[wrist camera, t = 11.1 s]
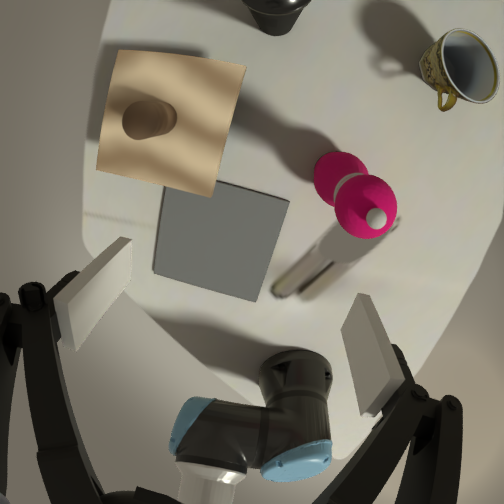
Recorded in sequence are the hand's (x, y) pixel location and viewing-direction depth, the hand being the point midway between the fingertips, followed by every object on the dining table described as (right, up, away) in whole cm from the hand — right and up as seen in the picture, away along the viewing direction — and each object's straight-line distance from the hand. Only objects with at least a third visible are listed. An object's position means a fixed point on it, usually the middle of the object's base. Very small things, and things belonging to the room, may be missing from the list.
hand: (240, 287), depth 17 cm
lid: (-10, +18, +16) cm, 26 cm away
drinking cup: (+4, +33, +15) cm, 37 cm away
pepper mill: (+12, +13, +24) cm, 30 cm away
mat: (-5, +4, +30) cm, 31 cm away
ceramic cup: (+27, +28, +16) cm, 42 cm away
